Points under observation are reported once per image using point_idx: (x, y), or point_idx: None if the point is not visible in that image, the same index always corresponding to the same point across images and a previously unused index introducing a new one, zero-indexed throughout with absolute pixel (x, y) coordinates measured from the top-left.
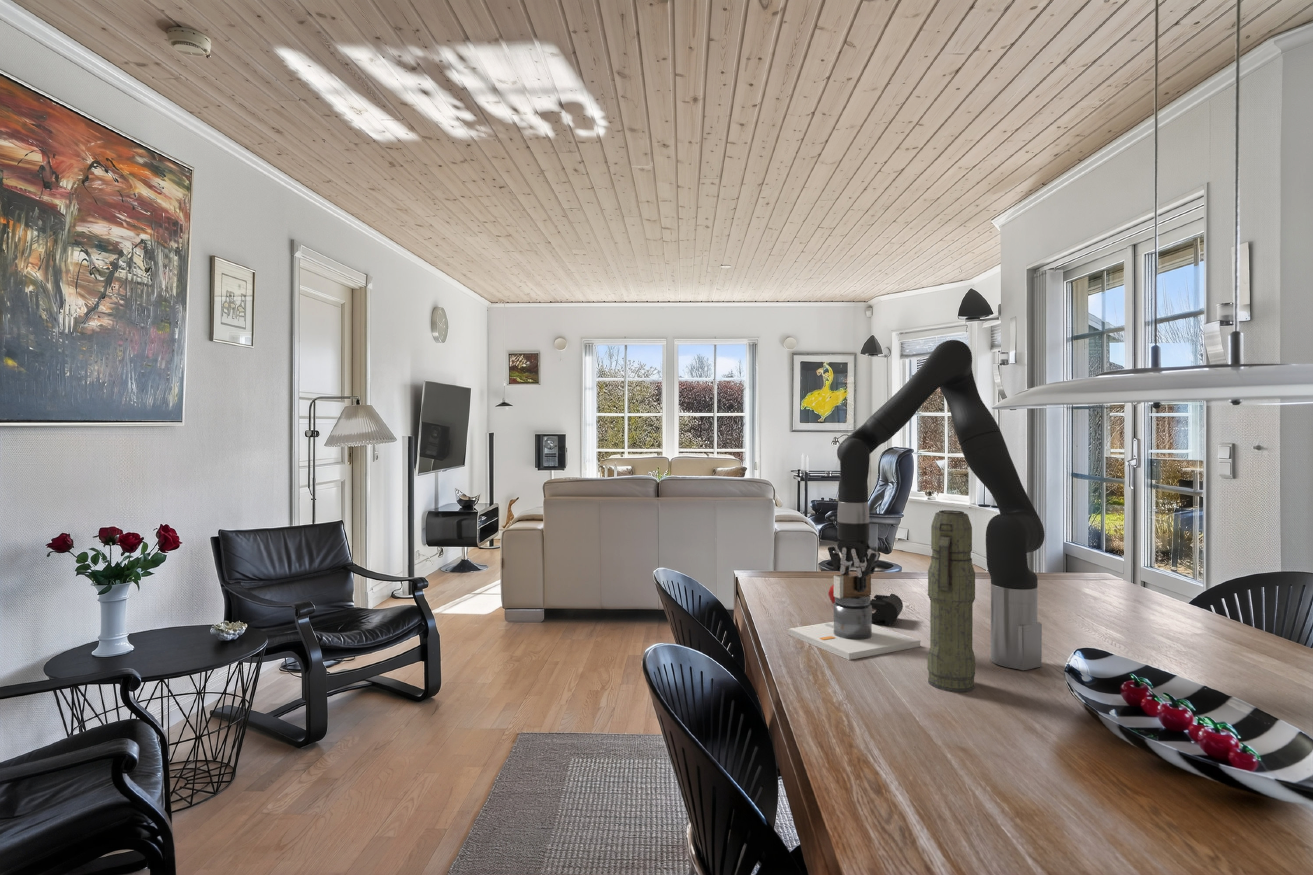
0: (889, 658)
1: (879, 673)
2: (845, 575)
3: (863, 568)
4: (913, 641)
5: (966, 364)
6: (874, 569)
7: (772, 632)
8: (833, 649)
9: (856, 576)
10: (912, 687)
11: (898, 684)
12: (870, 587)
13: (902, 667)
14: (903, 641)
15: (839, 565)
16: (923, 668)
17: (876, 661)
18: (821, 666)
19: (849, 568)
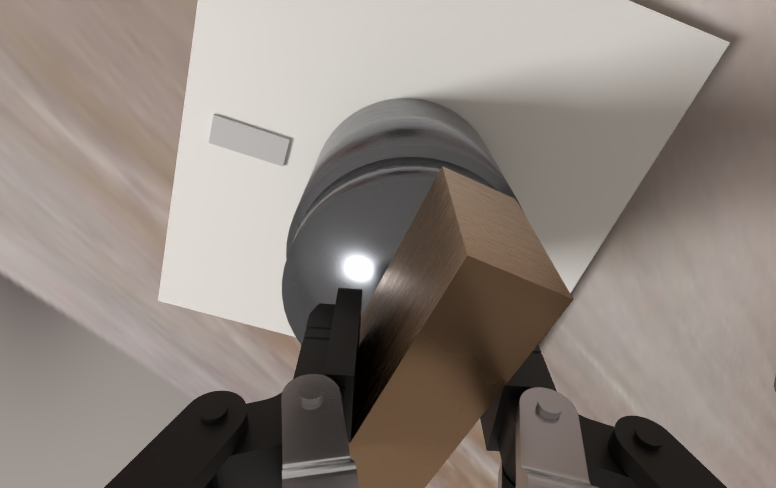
0: (617, 283)
1: (625, 411)
2: (372, 464)
3: (550, 470)
4: (697, 93)
5: None
6: (705, 478)
7: (107, 301)
8: None
9: (466, 427)
10: (733, 440)
11: (693, 444)
12: (528, 230)
13: (680, 333)
14: (650, 129)
15: (231, 484)
16: (750, 300)
17: (585, 335)
18: (462, 454)
19: (344, 429)
